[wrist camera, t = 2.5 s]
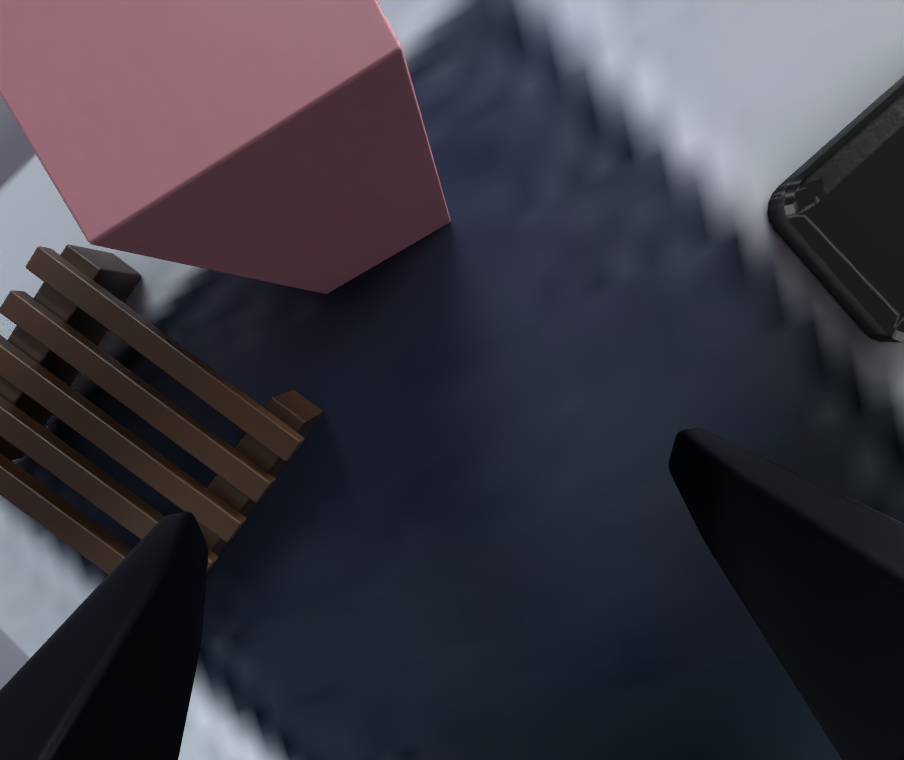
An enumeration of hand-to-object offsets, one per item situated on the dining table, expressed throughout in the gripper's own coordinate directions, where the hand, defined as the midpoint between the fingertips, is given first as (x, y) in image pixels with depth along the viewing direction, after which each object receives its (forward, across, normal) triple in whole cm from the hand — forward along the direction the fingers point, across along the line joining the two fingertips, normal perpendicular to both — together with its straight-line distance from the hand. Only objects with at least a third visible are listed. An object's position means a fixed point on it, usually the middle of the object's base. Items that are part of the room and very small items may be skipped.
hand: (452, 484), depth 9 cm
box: (+16, +1, -2) cm, 16 cm away
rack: (+13, +11, +7) cm, 18 cm away
